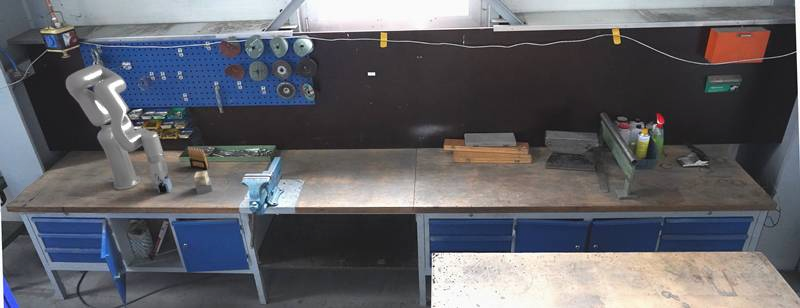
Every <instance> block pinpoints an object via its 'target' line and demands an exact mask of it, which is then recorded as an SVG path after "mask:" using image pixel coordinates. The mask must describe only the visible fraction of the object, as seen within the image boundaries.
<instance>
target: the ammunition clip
mask: <svg viewBox="0 0 800 308" xmlns="http://www.w3.org/2000/svg"><path fill="white" fill-rule="evenodd" d="M187 152H188V156H189V162H190V167H191V168H194V169H199V170H203V171H208V170H209V169H210V166H209V165H210V164H209V161H208V159H207V157H206V154H205V151H204V149H203V148H201V149H200V147H199V148H198V147H196V148H195V147H192V146H190V147H189V146H187Z"/></svg>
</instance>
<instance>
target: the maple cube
mask: <svg viewBox="0 0 800 308" xmlns="http://www.w3.org/2000/svg"><path fill="white" fill-rule="evenodd" d="M209 178H210V177H209V173H208V170H203V171H202V170H201V171H196V172H195V174H194V177H193V179H194V182H195V187H196V186H203V185H207V184H208V181H209Z"/></svg>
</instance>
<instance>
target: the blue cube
mask: <svg viewBox="0 0 800 308" xmlns="http://www.w3.org/2000/svg"><path fill="white" fill-rule="evenodd" d="M163 181H164V185H165V186H166V189H167V192H163V193H166V194H167V193H170V192H171V190H172V188H173V184H172V182H171V178H169V177H168V178H166V179H164V180H163ZM159 182H161V183H162V181H159ZM156 188H157V191H158V194H161V193H160V191H159V187H158V185H156ZM163 193H162V194H163Z"/></svg>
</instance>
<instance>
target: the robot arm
mask: <svg viewBox="0 0 800 308" xmlns="http://www.w3.org/2000/svg"><path fill="white" fill-rule="evenodd" d="M91 87H93V91H92V90H90V89H88V88H91ZM65 88H66V89H67V91H68V93H69V94H70V95H71V96H72V97H73V98H74V99H75V101H76V102H77V103H78V104H79V106H80V108H81V109H82V111H83V112H84V114H85V116H86V117H87V118H88V121H90V123H91V124H92V125H93V126H95V127H101V126H104V125H106V124H108V123H110V124H109V125H107V126H105V127H103V128H101V129H100V130H99V131H98V133H97V136H96V138H97V140H98V142H99V144H100V146H101V147H102V150H104V154H105V156H106V159H107V160H108V161H107V162H108V164H109V166H110V170H111V172H112V176H107V178H106V180H107V183H112V184H113V185H112V186H113V188H114V189H116V190H118V191H119V190H121V191H122V190H123V191H124V190H128V189H132V188H134V187H136V186H137V185H138V184H140V182H141V177H140V176H139V175H136V172H135V169H134V166H133V163H132V160H131V156H130V154H129V152H130V153H131V152H134V151H135V150H137V149H138V148H141V146H142V147H143V149H144V153H145V156H146V159H147V162H148V165H149V171H150V172H149V173H150V176H151V180H152V182H155V185H156V186H157V185H158V187H159V191H160V193H159V194H163V192H166V193H168V192H167V189H166V186H165V185H164V181H163V180H164V179H166V178H169V175H168V173H169V168H168V164H167V162H166V159H165V158H166V157H165V154H164V150H163V147H162V143H161V141H160V136H159V134H158V132H157V131H154V130H148V129H146V128H144V127H139V128H137V129H135V126H134V124H133V122H132V121H131V119H130V117H129V116H128V114H127V113H128V111H129V105H127V103H126V102H125V100H124V98H123V97H122V96H121V95H120V94H121V93H122V92H125V90H126V89H127V83H126V82H125V79H123V77H121V76H120V75H119V74H117V73H116V72H114V71H112V70H110V69H108V68H107V67H105V66H103V65H101V64H92V65H89V66H87V67H85V68H82V69H80V70H77V71H75V72H73V73H71V74H70V75H68V76H67V78H66V79H65ZM159 181H162V183H161V182H159Z"/></svg>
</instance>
